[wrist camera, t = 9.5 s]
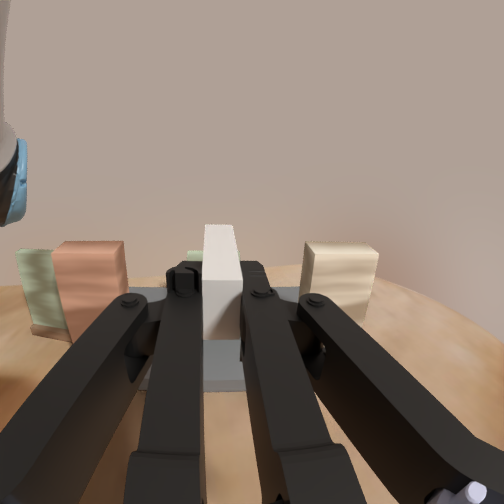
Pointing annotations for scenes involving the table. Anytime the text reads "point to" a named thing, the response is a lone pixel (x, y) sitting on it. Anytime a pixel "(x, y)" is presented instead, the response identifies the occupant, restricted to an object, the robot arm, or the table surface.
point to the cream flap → (340, 274)
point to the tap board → (216, 349)
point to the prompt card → (42, 294)
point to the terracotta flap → (88, 280)
